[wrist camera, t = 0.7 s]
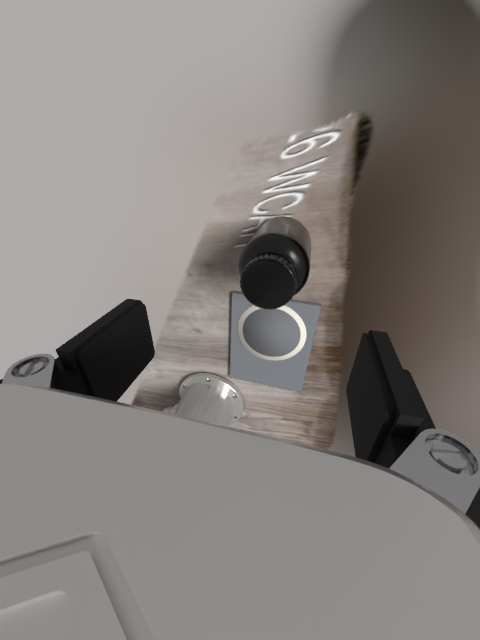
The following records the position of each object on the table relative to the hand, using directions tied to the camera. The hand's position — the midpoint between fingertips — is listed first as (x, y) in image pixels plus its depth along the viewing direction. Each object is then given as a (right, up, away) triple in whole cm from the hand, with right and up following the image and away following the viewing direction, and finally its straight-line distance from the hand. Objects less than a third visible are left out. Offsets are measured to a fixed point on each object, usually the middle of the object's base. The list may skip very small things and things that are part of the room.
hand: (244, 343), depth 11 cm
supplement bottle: (+5, +10, +20) cm, 23 cm away
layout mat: (+4, -3, +28) cm, 29 cm away
